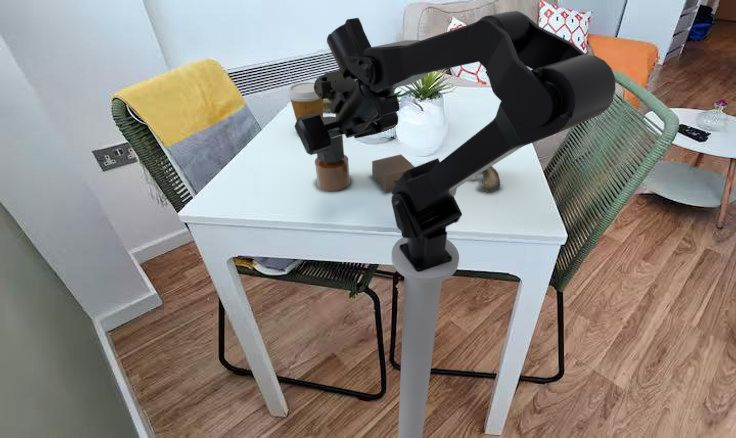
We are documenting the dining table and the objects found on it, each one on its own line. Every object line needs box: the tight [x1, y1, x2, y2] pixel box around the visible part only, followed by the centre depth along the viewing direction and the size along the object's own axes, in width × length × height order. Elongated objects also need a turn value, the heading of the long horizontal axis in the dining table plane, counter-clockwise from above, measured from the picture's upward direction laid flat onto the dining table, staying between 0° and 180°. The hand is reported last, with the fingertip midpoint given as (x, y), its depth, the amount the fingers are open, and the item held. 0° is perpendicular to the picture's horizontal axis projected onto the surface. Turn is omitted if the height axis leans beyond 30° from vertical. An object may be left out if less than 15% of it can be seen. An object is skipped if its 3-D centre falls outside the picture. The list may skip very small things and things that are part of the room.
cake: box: [323, 99, 332, 113], centre depth 116 cm, size 10×10×5 cm
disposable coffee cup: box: [287, 81, 324, 121], centre depth 100 cm, size 10×10×12 cm
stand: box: [371, 154, 415, 193], centre depth 80 cm, size 7×7×4 cm
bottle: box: [314, 154, 351, 192], centre depth 79 cm, size 7×7×8 cm
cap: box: [316, 115, 345, 163], centre depth 76 cm, size 5×5×8 cm
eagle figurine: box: [470, 166, 501, 194], centre depth 79 cm, size 8×7×9 cm
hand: (335, 142), depth 74 cm, fingers open, 9 cm apart
